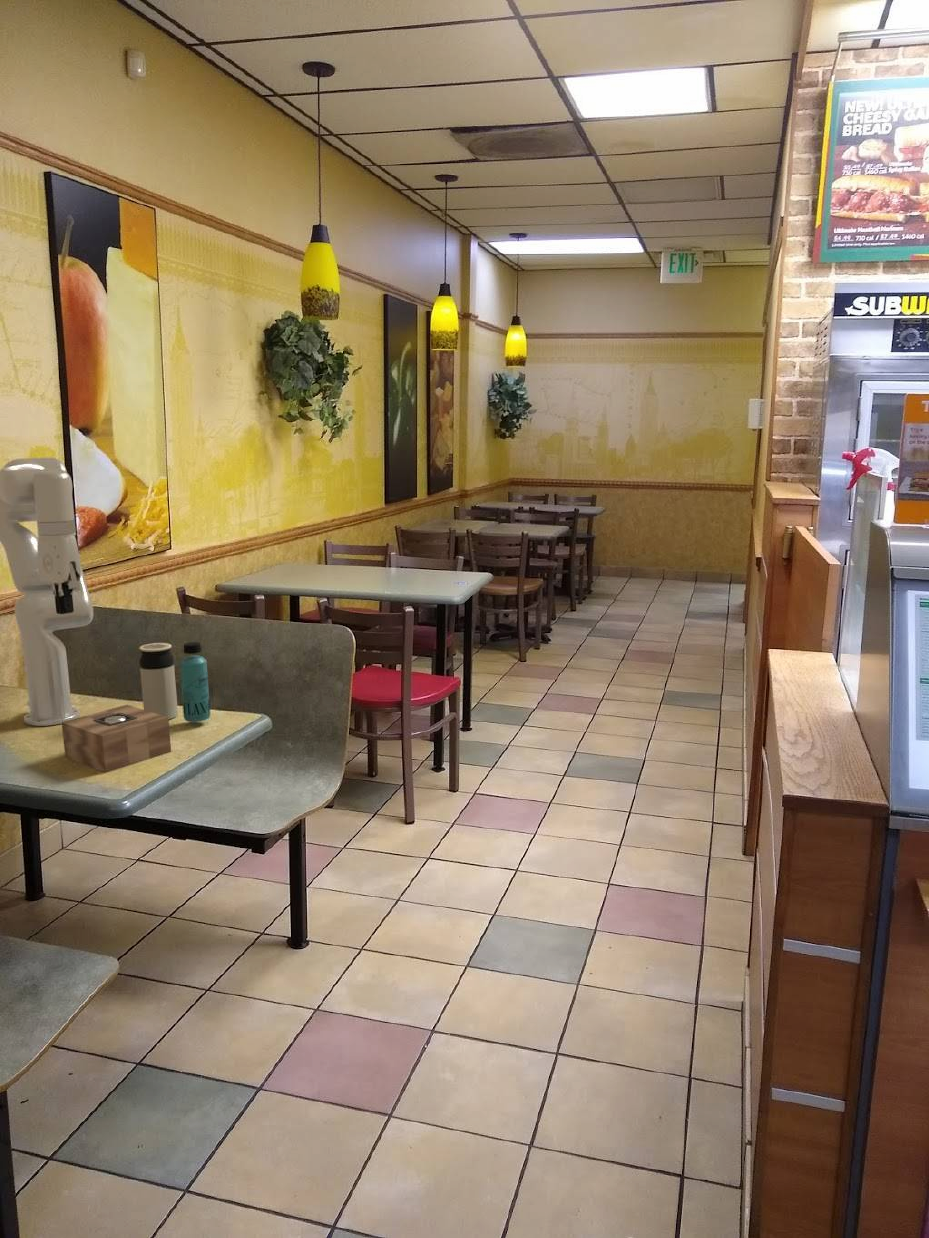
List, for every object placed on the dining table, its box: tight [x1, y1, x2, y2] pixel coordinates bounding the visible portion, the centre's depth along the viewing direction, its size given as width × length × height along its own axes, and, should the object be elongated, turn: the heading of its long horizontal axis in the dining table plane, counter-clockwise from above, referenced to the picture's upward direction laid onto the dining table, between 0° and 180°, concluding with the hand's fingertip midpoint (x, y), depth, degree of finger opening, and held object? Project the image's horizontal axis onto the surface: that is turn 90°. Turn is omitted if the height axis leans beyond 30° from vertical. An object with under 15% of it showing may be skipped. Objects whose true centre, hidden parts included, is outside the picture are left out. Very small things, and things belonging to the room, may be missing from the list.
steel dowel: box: [105, 716, 126, 724], centre depth 216 cm, size 4×4×8 cm
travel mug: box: [139, 642, 179, 720], centre depth 241 cm, size 8×8×18 cm
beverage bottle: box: [179, 641, 211, 723], centre depth 235 cm, size 6×7×20 cm
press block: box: [61, 704, 172, 773], centre depth 216 cm, size 16×16×8 cm
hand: (65, 612), depth 215 cm, fingers closed
